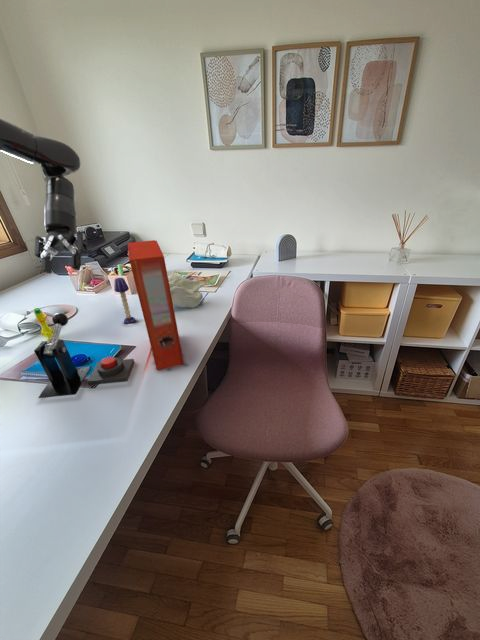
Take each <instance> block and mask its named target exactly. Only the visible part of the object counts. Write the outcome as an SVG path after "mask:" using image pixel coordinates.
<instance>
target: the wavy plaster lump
mask: <svg viewBox="0 0 480 640" xmlns="http://www.w3.org/2000/svg"><path fill="white" fill-rule="evenodd" d="M168 281H169V286H170V292H171V297H172V302H173V306H177V307H180V308H191V309H194V308H197V307H198V306H200V304H201V302H202V300H203V292H201V291H199V290H200V289H201V288H203V287H204V286H205V284H206V283H205V282H204V281H201V280H198V279H197V278H194V279H192V280H191V279H188V278H186V277H184V276H179V275H171V276H169V277H168Z"/></svg>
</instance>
